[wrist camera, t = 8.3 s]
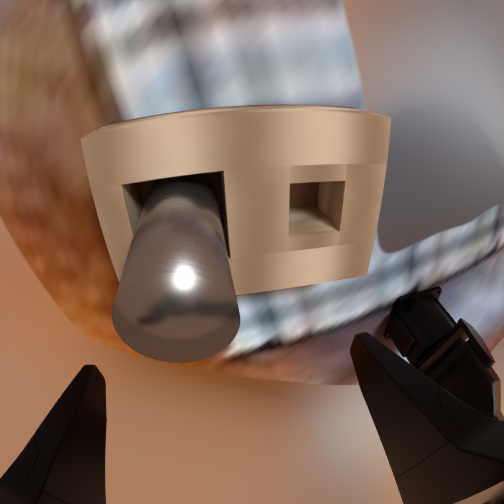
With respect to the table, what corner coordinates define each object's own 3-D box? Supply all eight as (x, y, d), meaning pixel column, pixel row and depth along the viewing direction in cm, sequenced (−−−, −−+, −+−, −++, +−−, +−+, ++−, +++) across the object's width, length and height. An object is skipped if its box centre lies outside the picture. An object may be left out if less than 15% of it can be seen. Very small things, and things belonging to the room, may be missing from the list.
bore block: (351, 107, 16) (391, 117, 12) (339, 240, 22) (366, 275, 18) (108, 124, 14) (80, 138, 11) (138, 264, 20) (128, 307, 16)
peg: (213, 161, 16) (236, 264, 8) (218, 223, 18) (243, 355, 10) (144, 170, 15) (93, 281, 7) (155, 231, 18) (134, 366, 9)
